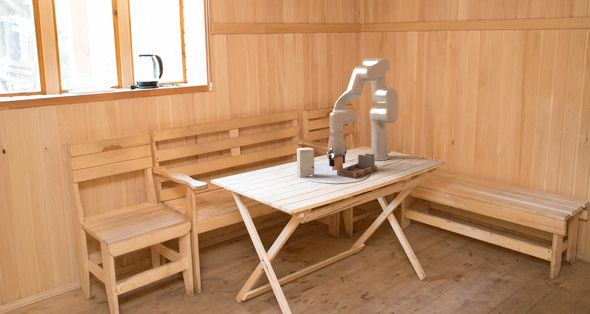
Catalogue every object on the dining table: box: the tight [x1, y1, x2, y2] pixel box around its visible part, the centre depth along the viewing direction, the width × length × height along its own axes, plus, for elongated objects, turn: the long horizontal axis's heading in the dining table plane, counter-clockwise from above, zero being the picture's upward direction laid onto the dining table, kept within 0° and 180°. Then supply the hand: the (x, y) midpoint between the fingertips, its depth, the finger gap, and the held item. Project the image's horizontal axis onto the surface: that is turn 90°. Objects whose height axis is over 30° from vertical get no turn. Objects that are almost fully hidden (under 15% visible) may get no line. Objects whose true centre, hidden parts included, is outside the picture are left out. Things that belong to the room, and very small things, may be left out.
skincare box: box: [296, 147, 315, 178], centre depth 300 cm, size 8×6×15 cm
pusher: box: [357, 152, 376, 168], centre depth 308 cm, size 6×8×7 cm
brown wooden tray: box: [336, 162, 378, 179], centre depth 302 cm, size 20×12×3 cm, turn 138°
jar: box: [331, 153, 344, 171], centre depth 311 cm, size 6×6×9 cm
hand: (337, 164), depth 311 cm, fingers open, 9 cm apart
